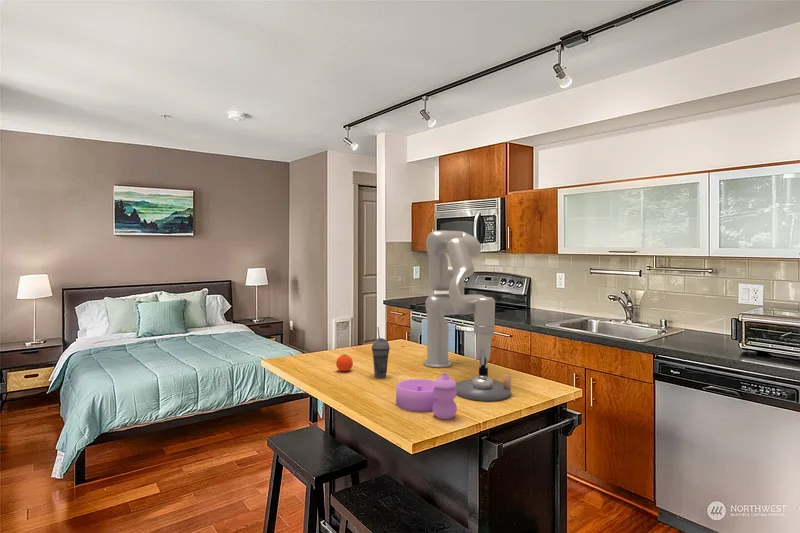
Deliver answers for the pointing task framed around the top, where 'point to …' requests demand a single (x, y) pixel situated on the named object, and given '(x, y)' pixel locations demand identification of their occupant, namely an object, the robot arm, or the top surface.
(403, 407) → the container set
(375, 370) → the beverage cup
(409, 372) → the top surface
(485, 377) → the cover
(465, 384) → the grey domed disc
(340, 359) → the tomato
